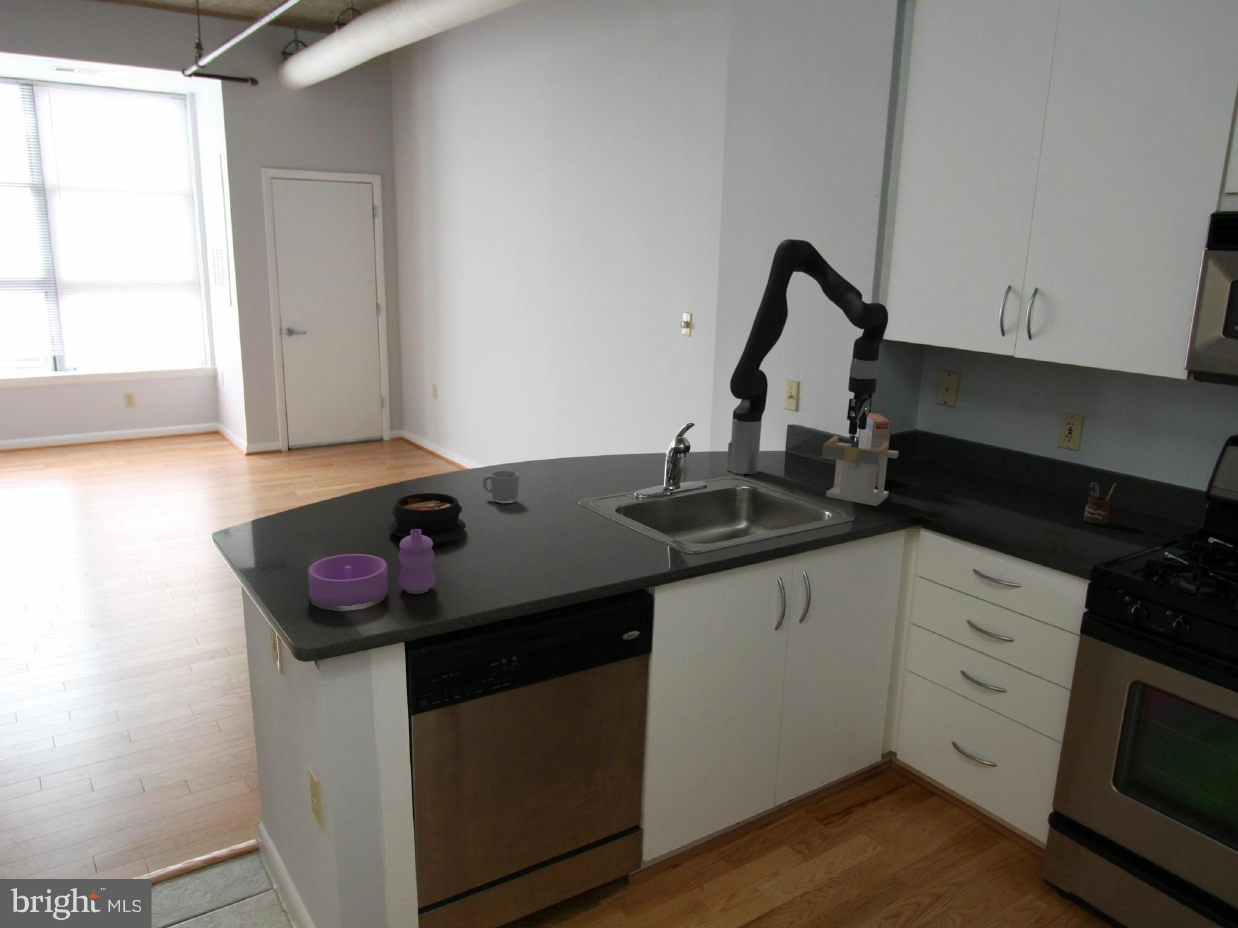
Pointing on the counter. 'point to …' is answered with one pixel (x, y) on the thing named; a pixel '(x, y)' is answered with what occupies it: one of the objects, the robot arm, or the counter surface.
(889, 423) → the cracker box
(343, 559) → the container set
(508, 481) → the cup
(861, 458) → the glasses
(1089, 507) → the utensil holder
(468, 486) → the counter surface
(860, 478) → the display stand
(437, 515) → the casserole
